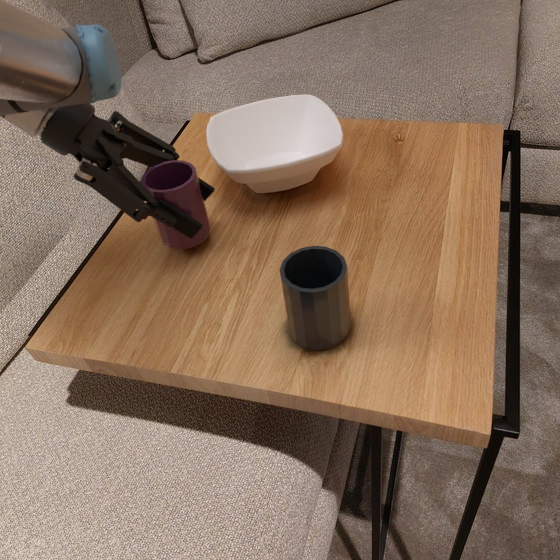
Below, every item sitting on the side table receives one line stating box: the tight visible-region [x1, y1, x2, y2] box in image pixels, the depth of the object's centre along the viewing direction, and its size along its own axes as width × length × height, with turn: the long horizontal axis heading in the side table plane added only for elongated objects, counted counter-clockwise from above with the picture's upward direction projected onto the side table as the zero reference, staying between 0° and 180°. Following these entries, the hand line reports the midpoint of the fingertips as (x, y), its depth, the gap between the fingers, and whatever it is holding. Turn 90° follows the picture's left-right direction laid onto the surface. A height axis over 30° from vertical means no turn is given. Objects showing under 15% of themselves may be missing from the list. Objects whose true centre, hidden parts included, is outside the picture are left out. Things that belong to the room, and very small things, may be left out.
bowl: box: [205, 94, 345, 194], centre depth 93 cm, size 21×21×9 cm
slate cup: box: [279, 245, 351, 352], centre depth 68 cm, size 7×7×10 cm
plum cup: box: [140, 159, 211, 250], centre depth 82 cm, size 7×7×10 cm
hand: (203, 212), depth 82 cm, fingers closed on plum cup, 7 cm apart
